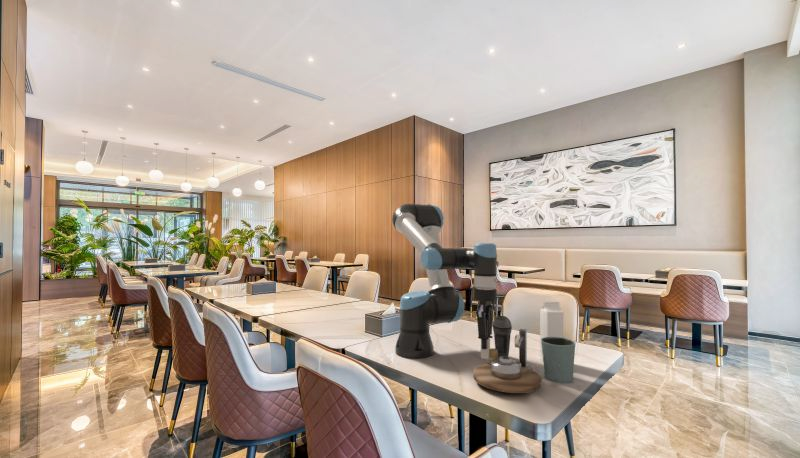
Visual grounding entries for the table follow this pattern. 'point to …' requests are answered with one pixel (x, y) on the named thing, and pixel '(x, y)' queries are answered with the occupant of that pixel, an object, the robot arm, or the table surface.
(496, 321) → the beverage cup
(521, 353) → the dial gauge
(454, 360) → the table surface
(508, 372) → the cover
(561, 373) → the grey-green tumbler
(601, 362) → the table surface
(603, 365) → the table surface
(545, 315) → the milk
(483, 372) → the turntable
